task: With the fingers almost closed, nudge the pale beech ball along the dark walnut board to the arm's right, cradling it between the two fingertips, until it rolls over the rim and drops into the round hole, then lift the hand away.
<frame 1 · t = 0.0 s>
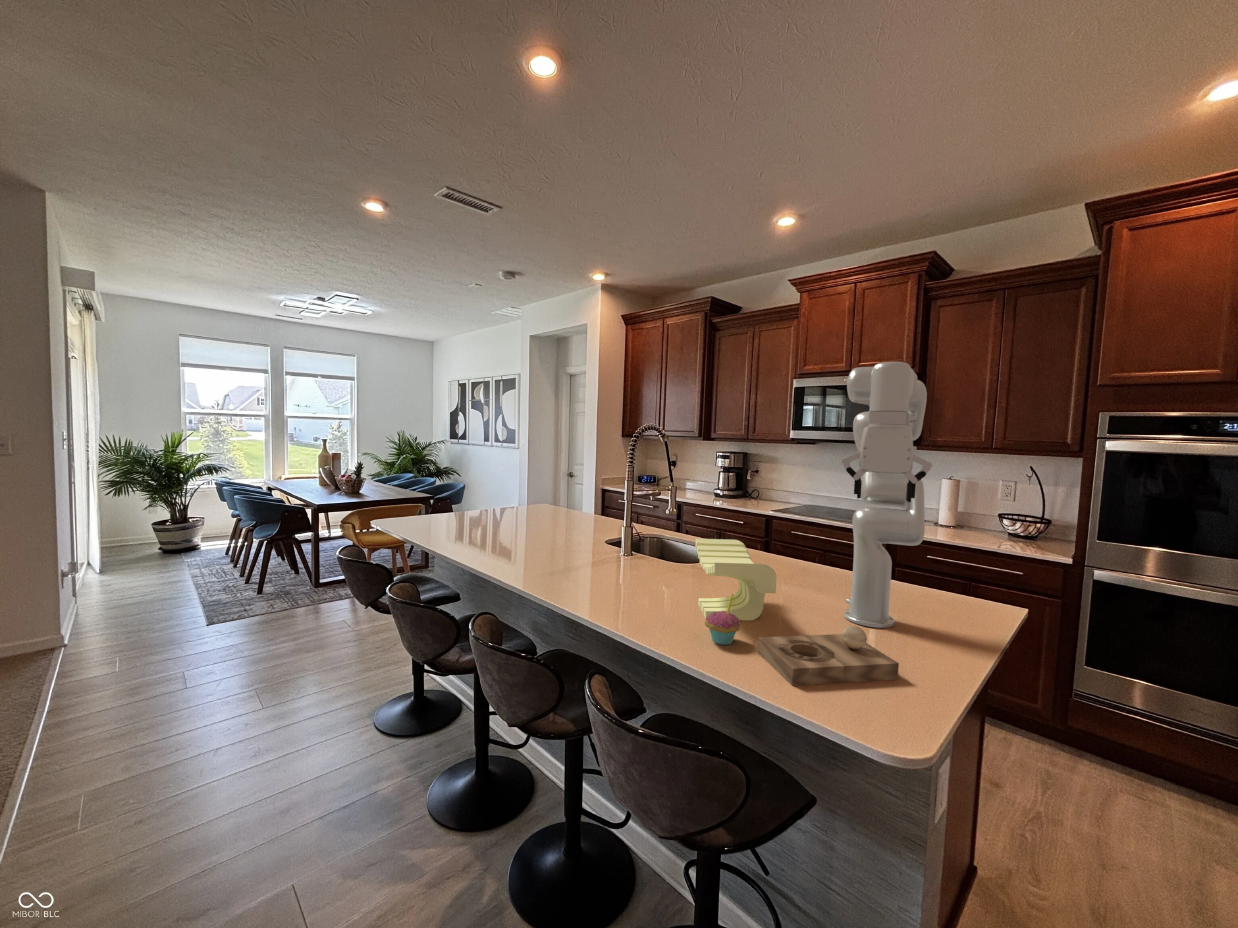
hand: (883, 499, 112), 37 cm above the table, tool pointing down, fingers open, 9 cm apart
ball: (854, 637, 115), point 6 cm above the table, touching board
slatted curved stool: (729, 612, 147), on the table
cupcake: (721, 641, 125), on the table
board: (824, 664, 114), on the table
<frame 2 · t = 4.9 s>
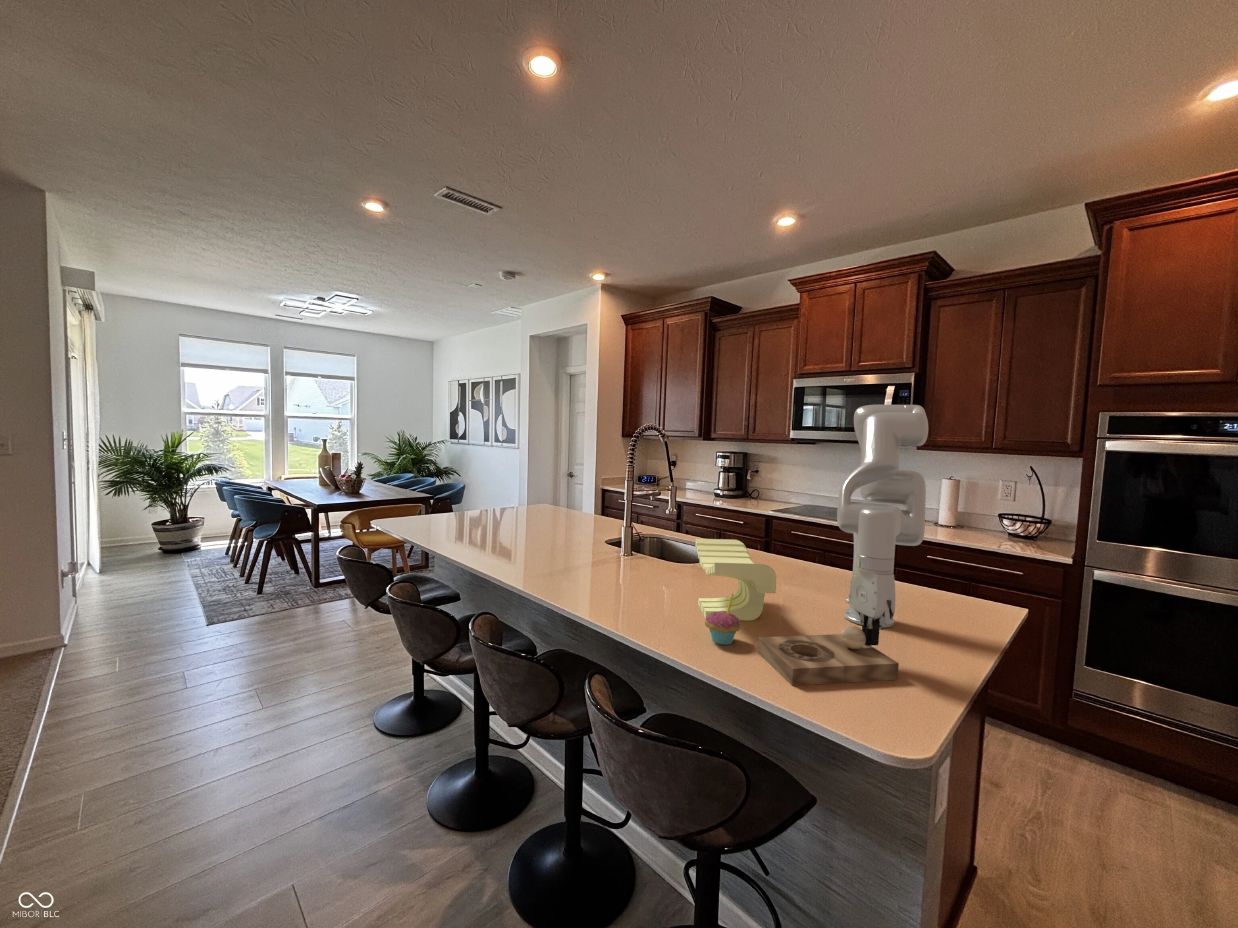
hand: (869, 643, 115), 4 cm above the table, tool pointing down, fingers closed
ball: (853, 637, 115), point 6 cm above the table, touching board, gripper
everything else where it was.
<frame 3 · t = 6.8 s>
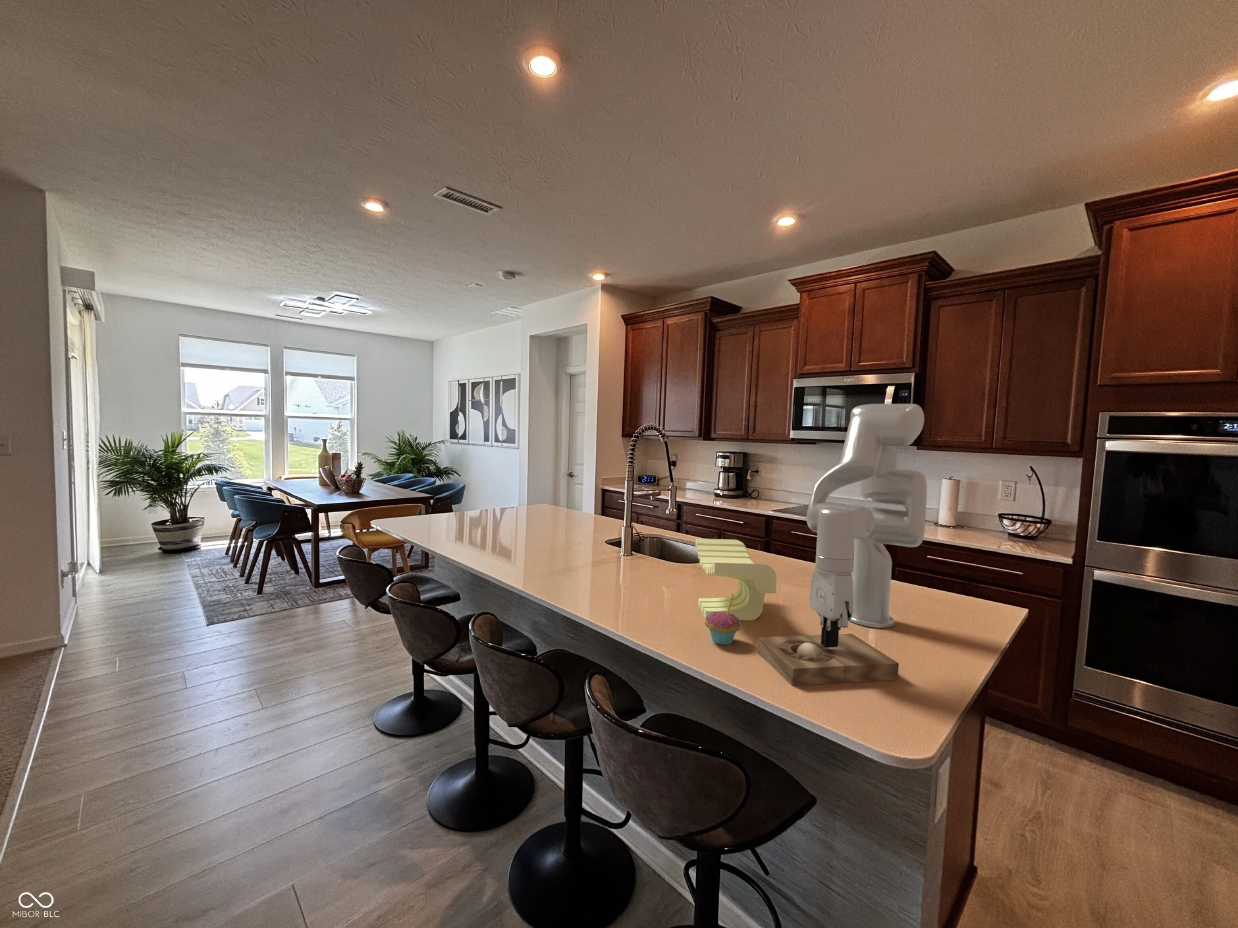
hand: (829, 645, 114), 4 cm above the table, tool pointing down, fingers closed
ball: (808, 654, 113), point 2 cm above the table, tilted 90°
everything else where it was.
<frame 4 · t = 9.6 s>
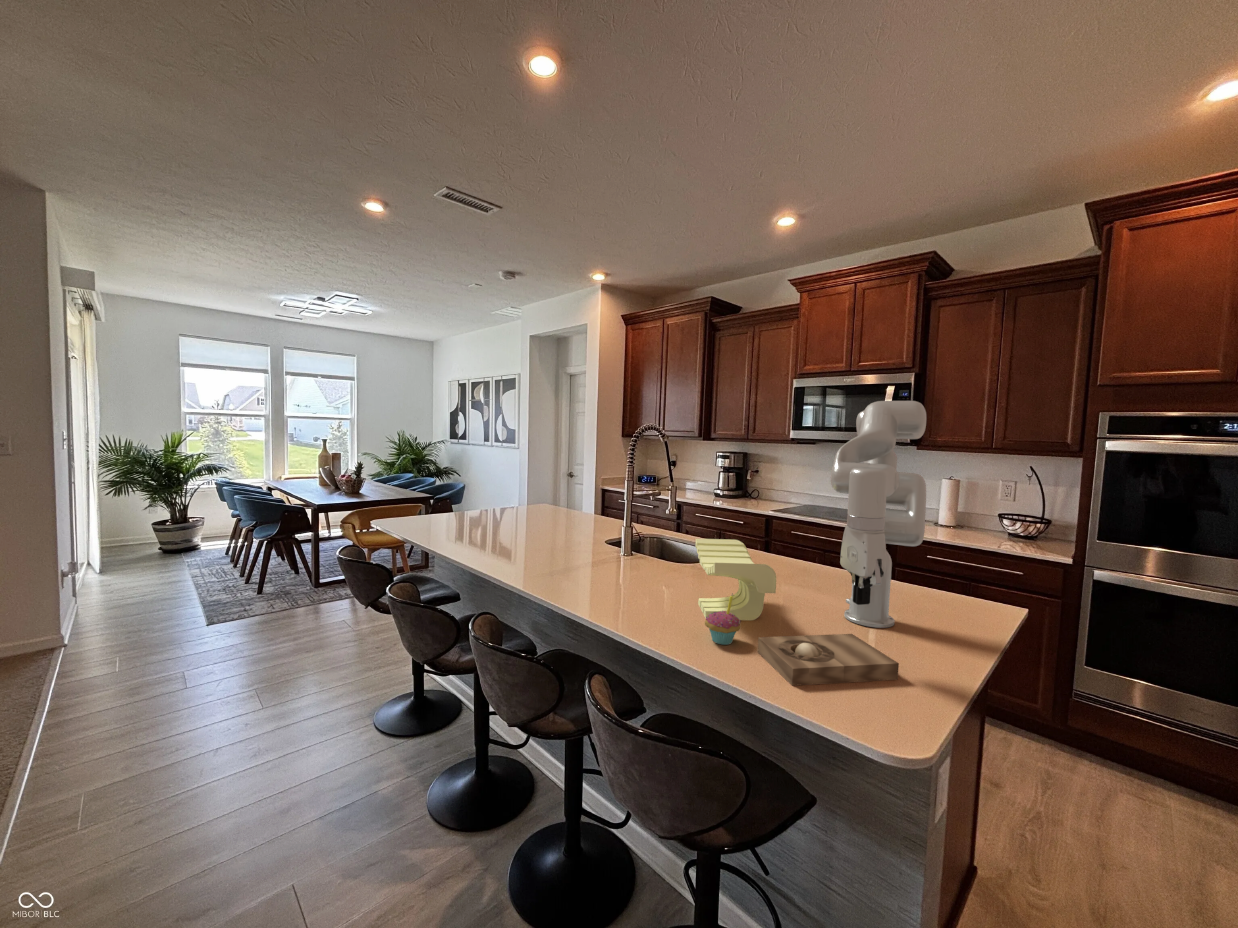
hand: (861, 602, 116), 13 cm above the table, tool pointing down, fingers closed
ball: (806, 654, 113), point 2 cm above the table, tilted 81°
everything else where it was.
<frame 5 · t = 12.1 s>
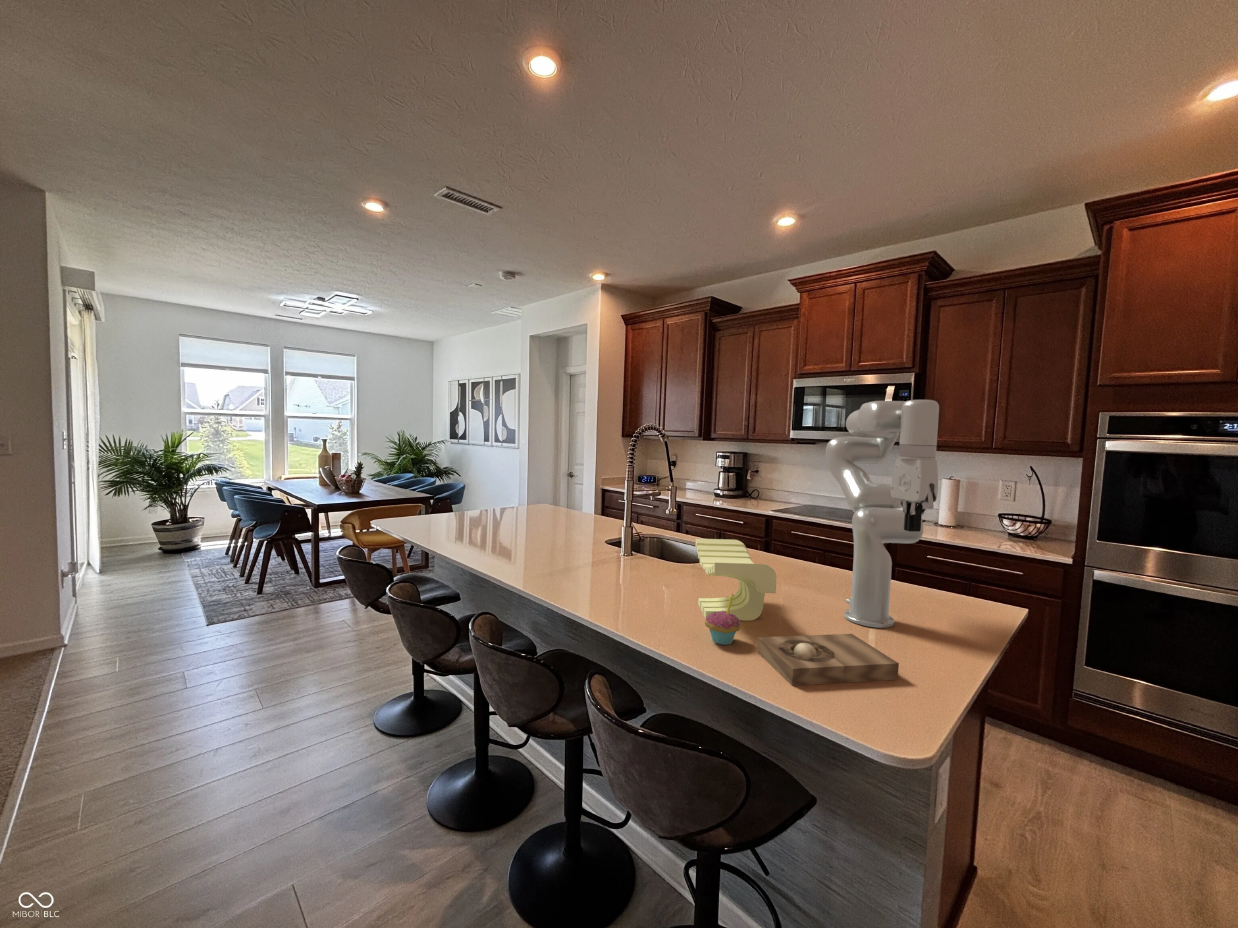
hand: (912, 530, 121), 29 cm above the table, tool pointing down, fingers closed
ball: (805, 654, 113), point 2 cm above the table, tilted 73°
everything else where it was.
at the end: ball 0.1 cm from the target spot in the board, point 2.5 cm above the board's base; ball point 2.5 cm above the table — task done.
